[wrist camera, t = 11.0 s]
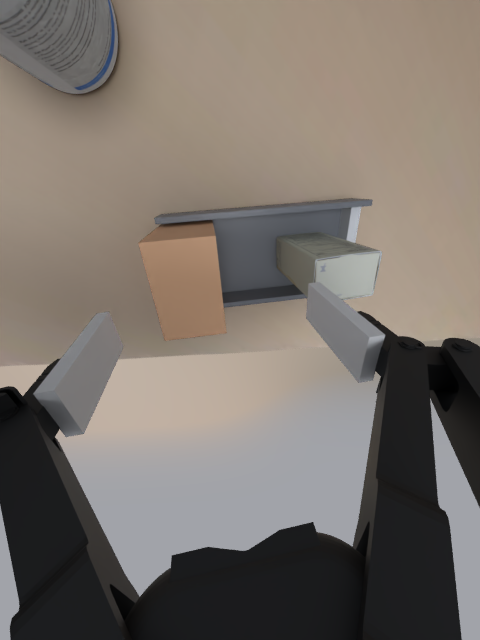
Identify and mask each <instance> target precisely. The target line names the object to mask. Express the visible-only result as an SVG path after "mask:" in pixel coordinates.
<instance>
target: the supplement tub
mask: <svg viewBox="0 0 480 640" xmlns="http://www.w3.org/2000/svg"><path fill="white" fill-rule="evenodd" d="M117 49H118V31H117V24H116V18H115V14H114V10H113V6H112V3H111V0H0V56H2V57H4V58H5V59H7V60H8V61H10V62H12V63H13V64H15V65H16V66H18V67H20V68H21V69H23V70H24V71H26V72H28V73H29V74H31V75H32V76H34V77H36V78H37V79H39V80H40V81H42V82H44V83H45V84H47V85H49V86H51V87H53V88H55V89H57V90H60V91H63V92H66V93H72V94H82V93H87V92H90V91H92V90H95V89H96V88H98V87H99V86H101V85H102V84H103V83H104V82H105V81H106V80H107V79H108V77H109V76H110V74H111V72H112V70H113V67H114V65H115V61H116V57H117Z"/></svg>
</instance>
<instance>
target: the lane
mask: <svg viewBox="0 0 480 640" xmlns="http://www.w3.org/2000/svg"><path fill="white" fill-rule="evenodd" d="M371 205H372V200H369V199H353V198H351V199H339V200H327V201H314V202H302V203H290V204H278V205H266V206H254V207H242V208H230V209H218V210H206V211H194V212H182V213H170V214H161V215H159V216H157V217H155V218H154V219H155V224H171V223H183V222H194V221H206V220H212V221H213V226H214V230H215V235H216V244H217V252H218V261H219V270H220V279H221V288H222V297H223V306H224V307H233V306H241V305H250V304H259V303H267V302H276V301H285V300H293V299H302V298H308V297H306V296H305V295H304V294H303V293H302V292H301V291H300V290H299V289H298V288H297V287H296V286H295V285H294V284H293V283H292V282H291V281H290V280H289V279H288V278H287V277H286V276H285V275H284V274H283V273H282V272H281V271H280V270H279V269H277V252H276V246H277V237H279V236H286V235H294V234H303V233H314V232H322V233H325V234H328V235H331V236H334V237H338V238H341V239H344V240H347V241H350V242H353V243H355V241H356V235H357V229H358V223H359V217H360V211H361V207H362V206H371Z"/></svg>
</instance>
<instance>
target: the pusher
mask: <svg viewBox="0 0 480 640" xmlns="http://www.w3.org/2000/svg"><path fill="white" fill-rule="evenodd" d="M138 244H139V247H140V251H141V255H142V258H143V262H144V266H145V270H146V273H147V277H148V281H149V284H150V288H151V292H152V295H153V299H154V303H155V306H156V310H157V314H158V318H159V321H160V325H161V329H162V332H163V336H164V340H165V341H167V340H176V339H184V338H192V337H200V336H208V335H216V334H224V333H226V324H225V315H224V306H223V297H222V288H221V279H220V270H219V261H218V252H217V244H216V235H215V230H214V226H213V221H212V220H206V221H194V222H183V223H171V224H161V225H160V226H159V227H157V228H156V229H155V230H154V231H152V232H151V233H150V234H149V235H148V236H146V237H145V238H144V239H143V240H141V241H140V242H139V243H138Z"/></svg>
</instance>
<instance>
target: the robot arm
mask: <svg viewBox="0 0 480 640" xmlns="http://www.w3.org/2000/svg"><path fill="white" fill-rule="evenodd" d="M306 319H307V320H308V321H309V322H310V324H311V325H312V326H313V327H314V329H315V330H316V331H317V332H318V333H319V335H320V336H321V337H322V338H323V340H324V341H325V342H326V343H327V345H328V346H329V347H330V348H331V349H332V351H333V352H334V353H335V354H336V356H337V357H338V358H339V359H340V361H341V362H342V363H343V364H344V366H345V367H346V368H347V369H348V370H349V371H350V373H351V374H352V375H353V377H354V378H355V379H356V380H357V382H358V383H360V382H365V381H371V380H373V378H374V374H375V371H376V372H377V373H378V374H379V375H380V376H381V378H380V381H379V384H378V388H377V391H376V393H378V394H377V401H376V408H375V414H374V421H373V428H372V434H371V441H370V447H369V454H368V460H367V467H366V474H365V480H364V488H363V494H362V501H361V507H360V514H359V520H358V525H357V529H356V533H355V538H354V543H353V547H352V546H350V545H349V544H347V543H345V542H344V541H342V540H340V539H338V538H335V537H333V536H331V535H327V534H323V533H318V532H316V529H315V526H314V524H313V522H311V523H307V524H303V525H299V526H295V527H291V528H286V529H282V530H279V531H277V532H276V533H274V534H273V535H271V536H270V537H268V538H266V539H265V540H263V541H262V542H260V543H259V544H257V545H255V546H254V547H252V548H251V549H249V550H247V551H238V550H229V549H220V548H212V547H206V548H202V549H198V550H193V551H189V552H185V553H181V554H176V555H172V561H171V568H170V569H168V570H167V571H165V572H164V573H163V574H162V575H160V576H159V577H158V578H157V579H156V580H155V581H154V582H153V583H152V584H151V585H150V586H149V587H148V588H147V589H146V590H145V592H144V593H143V594H142V595H141V596H140V597H139V595H138V594H137V592H136V590H135V589H134V587H133V586H132V584H131V583H130V581H129V580H128V578H127V577H126V575H125V574H124V571H123V569H122V567H121V565H120V563H119V561H118V559H117V557H116V556H115V553H114V551H113V549H112V547H111V545H110V543H109V541H108V539H107V537H106V535H105V533H104V531H103V529H102V527H101V525H100V524H99V521H98V519H97V518H96V515H95V513H94V511H93V509H92V507H91V505H90V503H89V501H88V499H87V498H86V495H85V494H84V491H83V490H82V487H81V485H80V483H79V482H78V480H77V477H76V475H75V474H74V471H73V469H72V467H71V465H70V463H69V462H68V460H67V458H66V456H65V454H64V452H63V450H62V448H61V446H60V444H59V442H58V440H57V439H56V438H55V436H56V434H57V432H58V431H59V429H60V430H61V431H62V432H63V434H64V435H65V437H68V436H74V435H80V434H84V432H85V430H86V428H87V426H88V423H89V421H90V419H91V417H92V415H93V413H94V410H95V408H96V406H97V404H98V401H99V400H100V397H101V395H102V393H103V391H104V389H105V386H106V384H107V382H108V380H109V378H110V376H111V373H112V371H113V369H114V367H115V365H116V362H117V360H118V358H119V356H120V354H121V352H122V349H123V347H124V346H123V344H122V341H121V339H120V337H119V334H118V332H117V329H116V327H115V325H114V322H113V320H112V317H111V315H110V313H109V312H104V313H96V315H95V316H94V317H93V319H92V320H91V321H90V322H89V324H88V325H87V326H86V327H85V329H84V330H83V331H82V333H81V334H80V335H79V336H78V338H77V339H76V340H75V341H74V343H73V344H72V345H71V346H70V348H69V349H68V350H67V352H66V353H65V354H64V355H63V357H62V358H61V359H57V360H56V361H54V362H53V363H52V364H50V365H49V366H48V367H47V368H46V369H45V370H44V372H43V373H42V374H41V376H39V378H38V379H37V380H36V382H34V384H33V385H32V386H31V387H30V388H29V390H28V391H27V392H26V393H25V395H24V396H22V395H21V394H20V393H19V391H18V390H17V389H16V388H15V387H9V386H8V387H4V388H0V505H1V510H2V515H3V521H4V526H5V531H6V536H7V541H8V546H9V551H10V556H11V561H12V566H13V572H14V577H15V581H16V587H17V592H18V597H19V605H20V607H19V611H18V613H17V614H15V616H14V617H13V618H12V621H11V625H10V635H11V640H462V639H461V631H460V630H461V629H460V620H459V610H458V601H457V591H456V581H455V572H454V562H453V552H452V543H451V533H450V525H449V520H448V516H447V515H446V512H445V511H444V510H442V509H440V507H439V505H438V497H437V484H436V471H435V458H434V444H433V431H432V419H431V406H430V398H431V400H432V403H433V405H434V407H435V409H436V412H437V414H438V416H439V418H440V420H441V422H442V425H443V427H444V429H445V431H446V434H447V436H448V438H449V440H450V442H451V445H452V447H453V449H454V451H455V454H456V456H457V458H458V460H459V463H460V465H461V467H462V469H463V471H464V474H465V476H466V478H467V480H468V482H469V485H470V487H471V489H472V491H473V494H474V496H475V498H476V500H477V502H478V505H479V506H480V347H479V346H478V345H476V344H474V343H472V342H471V341H468V340H465V339H459V338H448V339H445V340H444V342H443V344H442V346H441V347H428V346H427V347H426V346H425V345H424V344H423V343H422V342H420V341H418V340H416V339H414V338H410V337H404V336H399V337H398V336H397V335H396V334H394V333H393V332H392V331H390V330H389V329H388V328H386V327H385V326H384V325H381V323H380V322H379V321H376V319H375V318H373V317H372V316H371V315H369V314H366V313H364V312H362V311H359V312H356V311H355V310H354V309H353V308H351V307H350V306H349V305H348V304H346V303H345V302H344V301H343V300H341V299H340V298H339V297H338V296H336V295H335V294H334V293H333V292H331V291H330V290H329V289H328V288H326V287H325V286H324V285H323V284H321V283H320V282H315V283H309V284H308V299H307V313H306Z"/></svg>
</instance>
